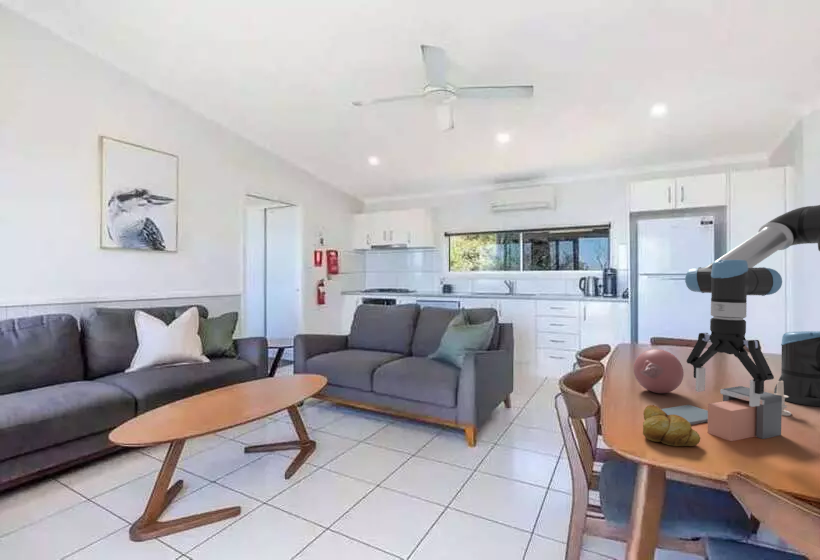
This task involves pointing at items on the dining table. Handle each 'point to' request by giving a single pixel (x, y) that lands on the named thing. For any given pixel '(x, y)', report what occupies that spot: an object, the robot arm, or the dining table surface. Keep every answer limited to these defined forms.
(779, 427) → the box
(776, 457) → the dining table surface
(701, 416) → the mat
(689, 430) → the bread roll
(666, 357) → the balloon
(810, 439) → the dining table surface
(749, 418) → the salmon pink rectangular block
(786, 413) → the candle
